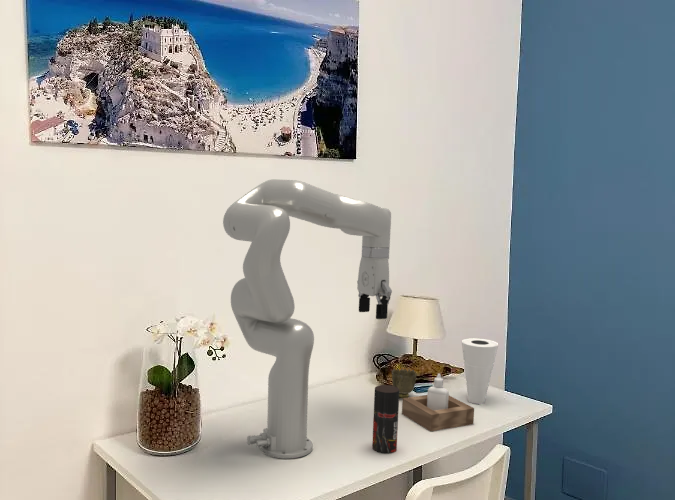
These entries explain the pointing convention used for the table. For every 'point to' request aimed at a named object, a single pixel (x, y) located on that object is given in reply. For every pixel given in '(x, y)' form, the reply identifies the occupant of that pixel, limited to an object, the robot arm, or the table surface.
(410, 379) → the cup
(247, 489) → the table surface
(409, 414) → the socket
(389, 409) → the deodorant
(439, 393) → the eye dropper bottle
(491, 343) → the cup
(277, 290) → the robot arm
